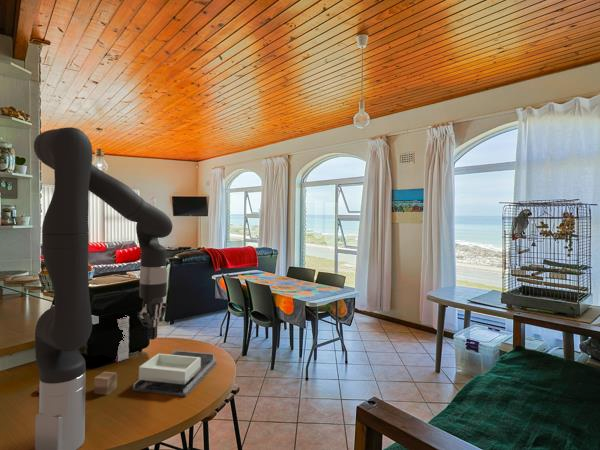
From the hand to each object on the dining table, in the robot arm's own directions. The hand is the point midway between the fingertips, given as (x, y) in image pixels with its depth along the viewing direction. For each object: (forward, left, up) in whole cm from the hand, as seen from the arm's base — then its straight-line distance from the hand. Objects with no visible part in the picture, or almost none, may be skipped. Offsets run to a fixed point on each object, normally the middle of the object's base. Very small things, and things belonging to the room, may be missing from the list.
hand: (152, 338), depth 109 cm
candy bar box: (+26, +31, -19) cm, 45 cm away
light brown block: (+2, +17, -19) cm, 26 cm away
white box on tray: (+11, 0, -17) cm, 21 cm away
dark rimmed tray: (+16, 0, -19) cm, 25 cm away
